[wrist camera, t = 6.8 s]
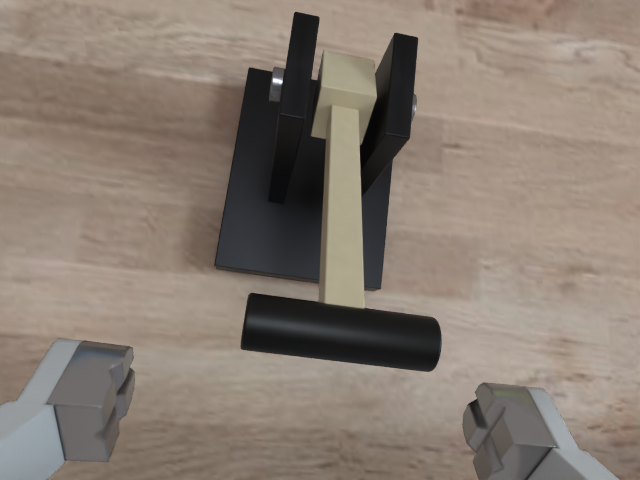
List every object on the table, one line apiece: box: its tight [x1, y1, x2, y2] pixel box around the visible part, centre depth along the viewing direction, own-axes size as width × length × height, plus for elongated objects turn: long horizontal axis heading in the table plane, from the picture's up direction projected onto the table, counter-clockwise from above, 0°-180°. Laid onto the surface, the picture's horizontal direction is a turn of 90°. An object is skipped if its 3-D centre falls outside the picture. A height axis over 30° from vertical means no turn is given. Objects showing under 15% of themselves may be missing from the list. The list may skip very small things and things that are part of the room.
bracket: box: [215, 12, 418, 291], centre depth 23 cm, size 13×10×13 cm
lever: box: [241, 50, 441, 372], centre depth 16 cm, size 13×5×2 cm, turn 173°
